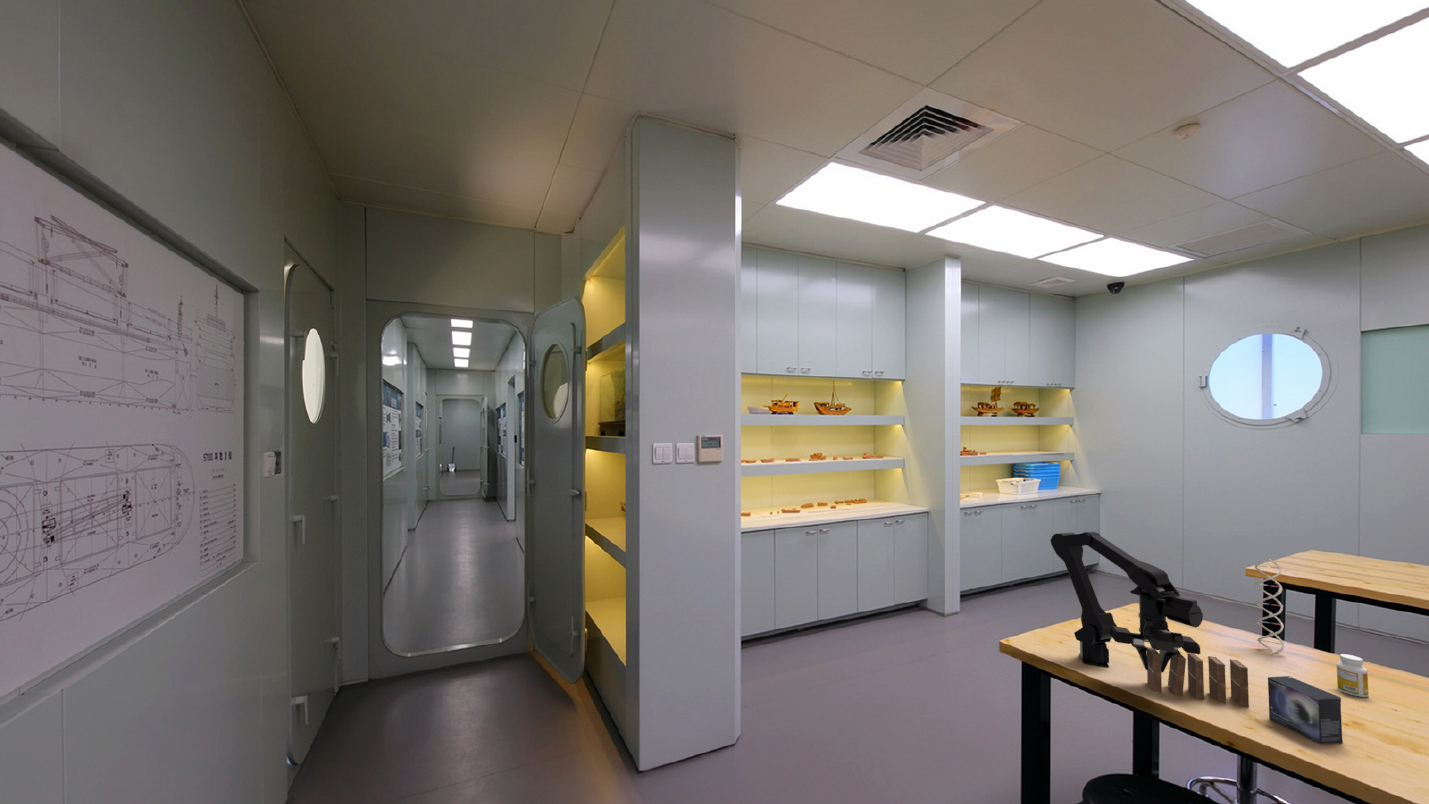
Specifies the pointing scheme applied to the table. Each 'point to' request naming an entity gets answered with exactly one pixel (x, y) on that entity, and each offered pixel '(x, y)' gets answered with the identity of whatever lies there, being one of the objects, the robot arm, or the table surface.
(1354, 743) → the table surface
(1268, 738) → the table surface
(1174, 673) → the domino
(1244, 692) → the domino
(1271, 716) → the small box
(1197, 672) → the domino
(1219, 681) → the domino
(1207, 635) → the table surface
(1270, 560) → the dna model
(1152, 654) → the domino
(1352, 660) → the supplement bottle
